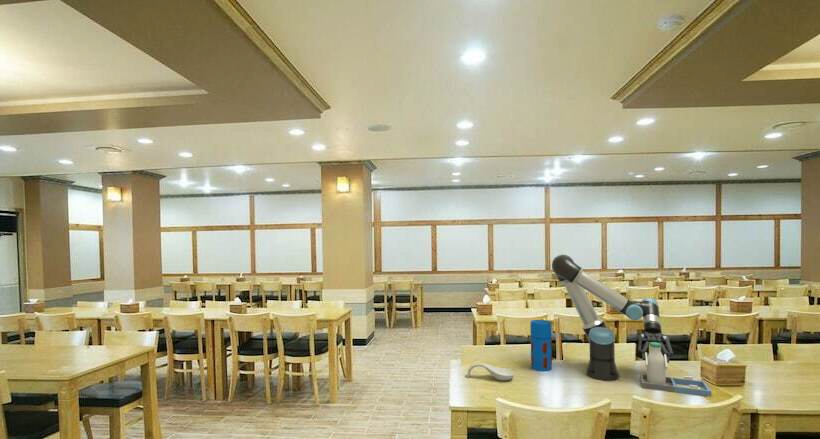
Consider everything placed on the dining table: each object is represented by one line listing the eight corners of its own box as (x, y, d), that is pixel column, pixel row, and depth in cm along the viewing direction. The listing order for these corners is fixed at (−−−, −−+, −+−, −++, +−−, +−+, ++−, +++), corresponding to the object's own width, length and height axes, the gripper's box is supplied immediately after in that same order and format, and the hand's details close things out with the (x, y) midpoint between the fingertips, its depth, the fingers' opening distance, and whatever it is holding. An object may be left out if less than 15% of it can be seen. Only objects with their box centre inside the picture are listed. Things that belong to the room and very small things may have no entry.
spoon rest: (514, 376, 215) (514, 361, 216) (515, 384, 204) (515, 369, 204) (467, 373, 220) (467, 359, 220) (466, 381, 208) (466, 366, 209)
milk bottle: (668, 388, 196) (667, 345, 197) (650, 387, 198) (649, 344, 198) (662, 382, 204) (661, 341, 204) (644, 381, 205) (643, 340, 206)
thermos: (554, 367, 228) (553, 321, 229) (549, 372, 219) (548, 324, 220) (534, 364, 234) (533, 319, 235) (528, 369, 225) (527, 322, 226)
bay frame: (642, 388, 197) (641, 379, 197) (639, 378, 210) (639, 370, 210) (711, 397, 186) (711, 387, 186) (704, 386, 198) (704, 378, 199)
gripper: (674, 331, 211) (681, 374, 196) (629, 328, 220) (632, 368, 204) (676, 323, 207) (682, 365, 191) (630, 319, 215) (632, 360, 200)
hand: (656, 367), depth 198 cm, fingers closed on milk bottle, 7 cm apart
